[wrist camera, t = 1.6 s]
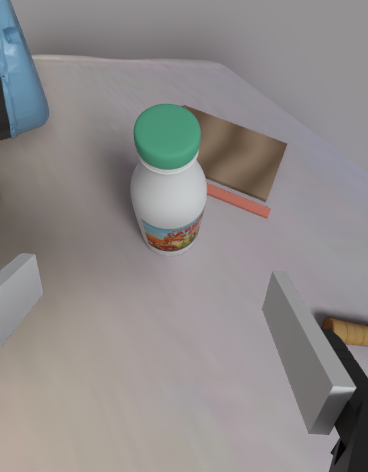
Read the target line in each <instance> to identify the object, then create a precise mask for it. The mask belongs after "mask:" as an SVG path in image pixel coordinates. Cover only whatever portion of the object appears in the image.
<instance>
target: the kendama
mask: <svg viewBox="0 0 368 472" xmlns="http://www.w3.org/2000/svg"><path fill="white" fill-rule="evenodd" d="M323 329H331V330H332V331H333V332H334V333H336V334H337V335H338V336H339V337H340V338H341V339H342V340H343V342H344V343H345V344H349V345H350V344H351V345H359V346H368V326H365V325H360V324H355V323H351V322H346V321H342V320H338V319H334V318H329V317H328V318H326V319H325V321H324V324H323Z"/></svg>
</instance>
